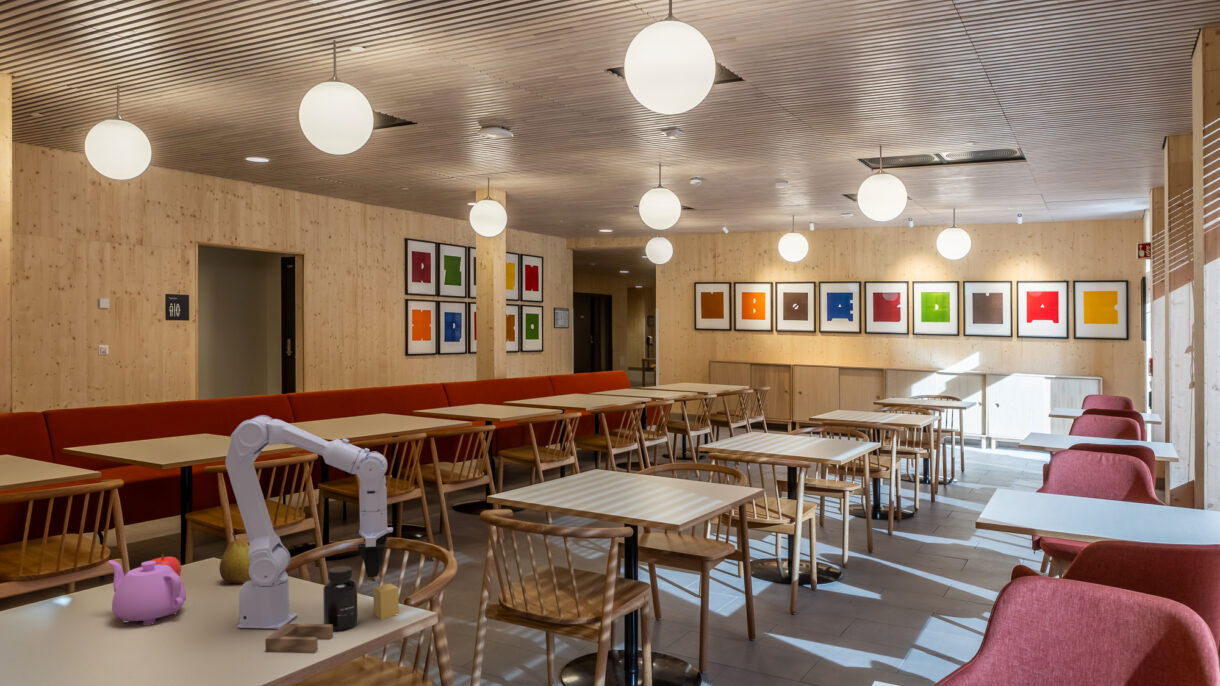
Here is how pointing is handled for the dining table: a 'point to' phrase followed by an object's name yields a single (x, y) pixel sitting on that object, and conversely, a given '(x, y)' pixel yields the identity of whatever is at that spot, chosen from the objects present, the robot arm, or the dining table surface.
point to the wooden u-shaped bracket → (298, 637)
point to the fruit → (235, 562)
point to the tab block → (385, 600)
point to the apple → (169, 563)
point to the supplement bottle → (340, 599)
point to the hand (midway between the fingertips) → (374, 571)
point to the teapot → (146, 592)
